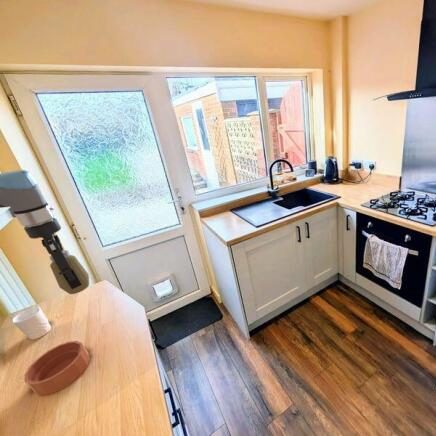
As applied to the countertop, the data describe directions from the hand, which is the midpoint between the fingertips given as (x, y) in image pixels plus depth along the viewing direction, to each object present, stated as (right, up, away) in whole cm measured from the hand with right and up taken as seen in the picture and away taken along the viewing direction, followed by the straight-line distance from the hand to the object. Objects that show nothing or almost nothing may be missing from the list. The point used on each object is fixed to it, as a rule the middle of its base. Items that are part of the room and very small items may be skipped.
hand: (74, 281), depth 84 cm
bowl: (-1, -29, -3) cm, 30 cm away
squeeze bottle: (0, -3, +2) cm, 3 cm away
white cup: (-26, -24, +15) cm, 39 cm away
